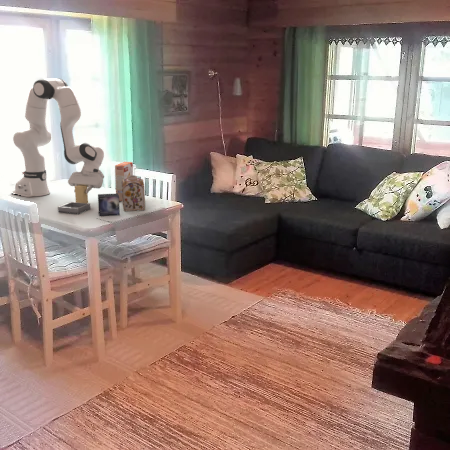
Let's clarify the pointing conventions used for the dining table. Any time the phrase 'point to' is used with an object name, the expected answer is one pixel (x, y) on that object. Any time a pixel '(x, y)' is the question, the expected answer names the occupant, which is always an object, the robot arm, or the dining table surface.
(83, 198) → the tan rectangular block
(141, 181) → the decorative jar
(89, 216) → the dining table surface
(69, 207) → the tray
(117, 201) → the small box
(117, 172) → the cracker box
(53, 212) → the dining table surface
